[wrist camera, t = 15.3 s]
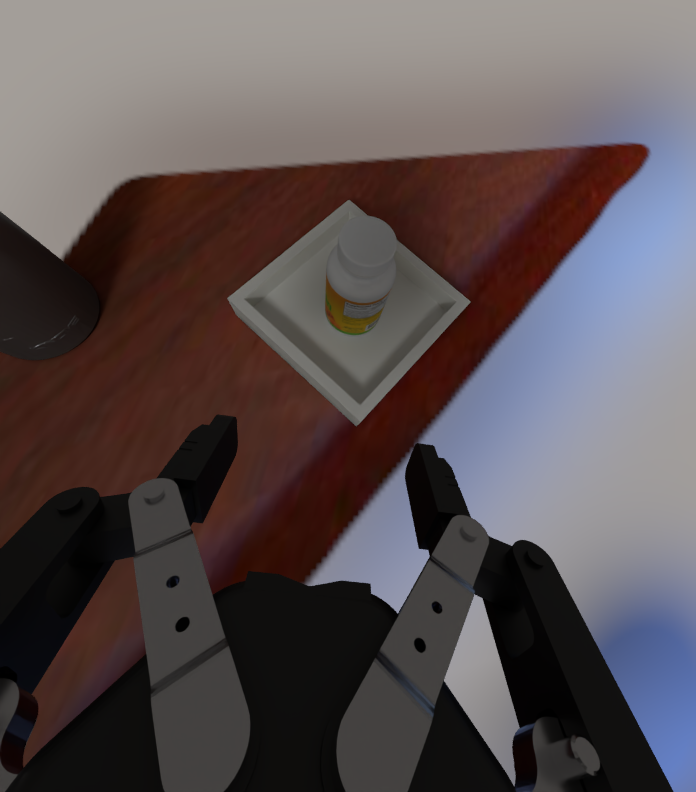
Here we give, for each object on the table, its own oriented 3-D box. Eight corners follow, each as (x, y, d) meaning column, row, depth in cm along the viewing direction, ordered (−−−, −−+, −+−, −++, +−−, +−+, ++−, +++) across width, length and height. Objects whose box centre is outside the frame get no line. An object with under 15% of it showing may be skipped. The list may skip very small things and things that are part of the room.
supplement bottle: (325, 287, 29) (328, 202, 20) (378, 290, 30) (405, 209, 20) (324, 337, 28) (326, 272, 18) (379, 339, 28) (409, 277, 19)
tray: (236, 315, 29) (227, 298, 26) (346, 223, 32) (348, 199, 29) (356, 426, 27) (360, 421, 24) (456, 317, 31) (470, 301, 28)
